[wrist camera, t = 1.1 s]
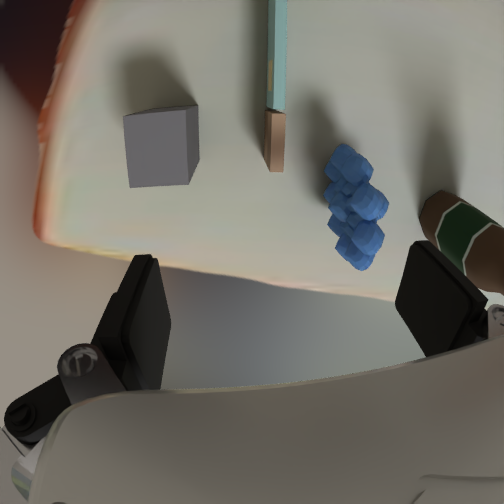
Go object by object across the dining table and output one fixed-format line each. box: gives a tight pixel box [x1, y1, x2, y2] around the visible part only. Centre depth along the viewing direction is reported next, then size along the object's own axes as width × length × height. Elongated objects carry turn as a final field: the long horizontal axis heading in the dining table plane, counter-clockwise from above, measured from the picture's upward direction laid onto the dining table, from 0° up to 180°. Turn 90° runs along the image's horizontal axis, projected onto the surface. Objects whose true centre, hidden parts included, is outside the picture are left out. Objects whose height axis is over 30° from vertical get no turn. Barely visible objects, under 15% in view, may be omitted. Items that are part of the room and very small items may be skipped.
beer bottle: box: [419, 190, 504, 295], centre depth 26 cm, size 8×8×24 cm
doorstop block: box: [123, 105, 200, 188], centre depth 26 cm, size 6×5×9 cm
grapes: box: [323, 144, 389, 271], centre depth 28 cm, size 12×7×12 cm, turn 5°
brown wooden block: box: [264, 110, 286, 172], centre depth 23 cm, size 25×1×6 cm, turn 179°
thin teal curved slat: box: [266, 0, 287, 110], centre depth 23 cm, size 13×1×5 cm, turn 179°
